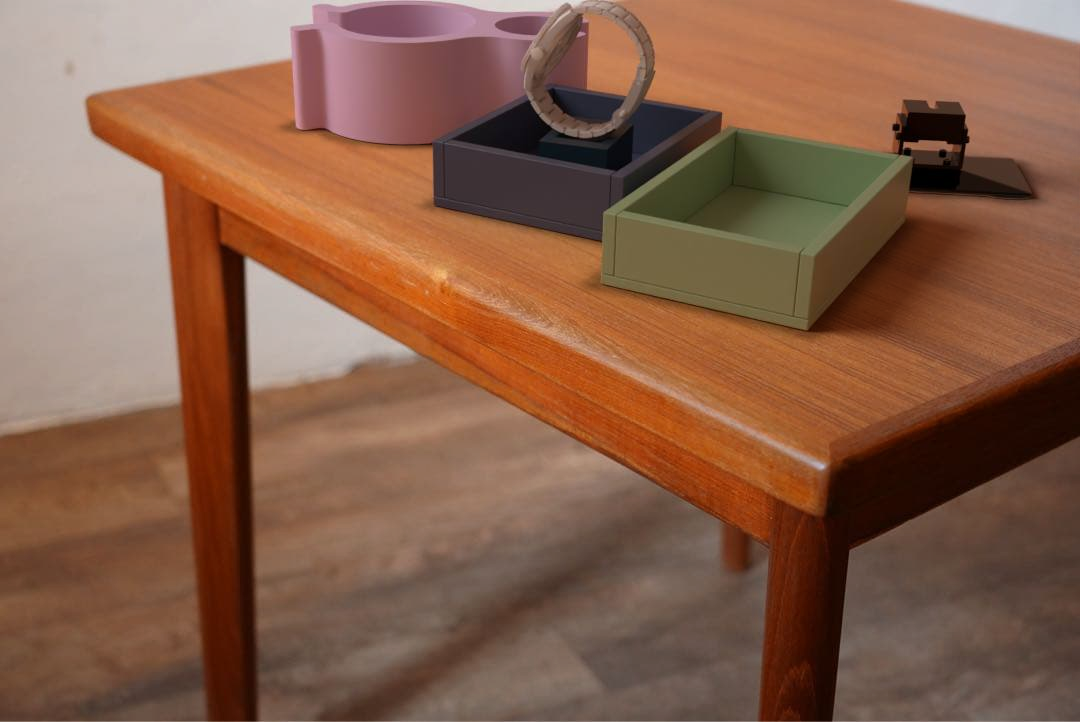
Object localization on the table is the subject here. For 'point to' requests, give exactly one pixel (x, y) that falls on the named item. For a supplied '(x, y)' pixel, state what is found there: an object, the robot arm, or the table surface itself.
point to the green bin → (757, 225)
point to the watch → (578, 135)
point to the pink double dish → (415, 67)
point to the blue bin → (558, 161)
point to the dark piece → (952, 155)
